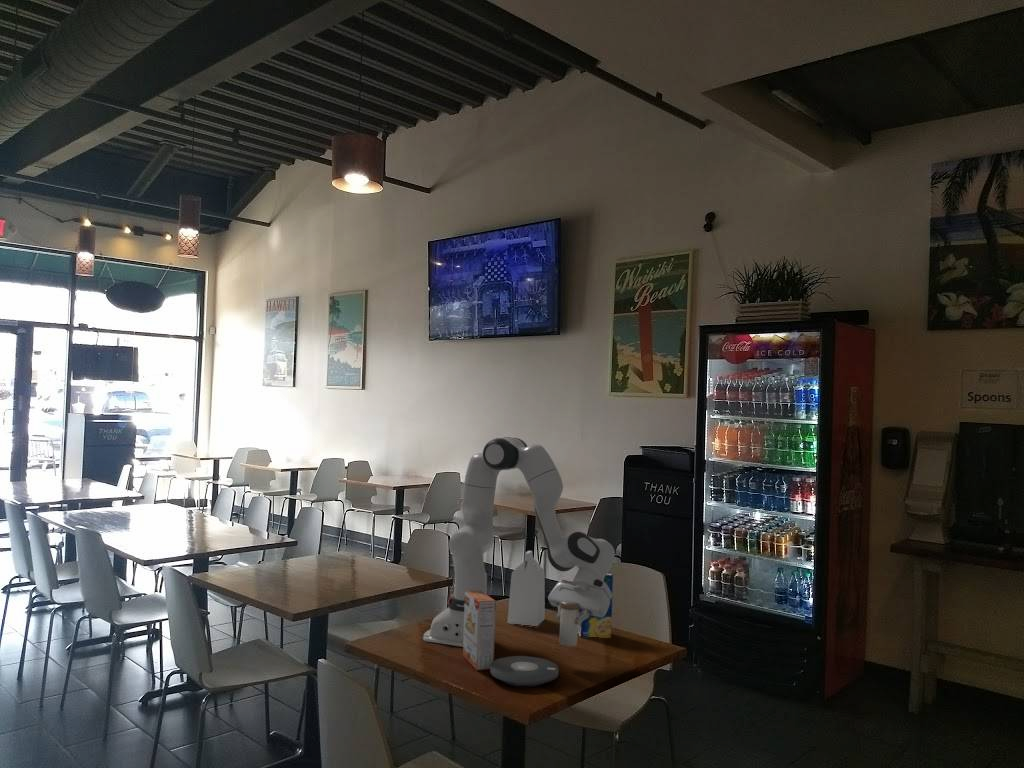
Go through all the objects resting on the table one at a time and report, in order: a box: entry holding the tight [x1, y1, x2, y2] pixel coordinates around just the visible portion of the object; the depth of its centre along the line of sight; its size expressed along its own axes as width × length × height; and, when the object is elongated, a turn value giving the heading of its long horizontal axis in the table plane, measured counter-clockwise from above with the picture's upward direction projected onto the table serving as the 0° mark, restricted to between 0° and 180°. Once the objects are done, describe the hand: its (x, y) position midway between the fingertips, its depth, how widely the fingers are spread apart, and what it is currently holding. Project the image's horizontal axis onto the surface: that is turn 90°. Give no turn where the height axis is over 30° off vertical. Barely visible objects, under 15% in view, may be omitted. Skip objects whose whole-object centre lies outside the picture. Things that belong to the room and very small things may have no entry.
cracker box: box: [462, 590, 497, 671], centre depth 235 cm, size 14×6×21 cm, turn 21°
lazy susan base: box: [502, 681, 545, 688], centre depth 222 cm, size 14×14×2 cm
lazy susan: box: [489, 655, 559, 684], centre depth 223 cm, size 20×20×2 cm
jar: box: [558, 601, 579, 647], centre depth 235 cm, size 6×6×12 cm
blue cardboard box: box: [577, 571, 614, 639], centre depth 271 cm, size 7×11×22 cm, turn 96°
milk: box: [506, 550, 546, 627], centre depth 286 cm, size 12×12×26 cm
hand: (568, 621), depth 235 cm, fingers closed on jar, 5 cm apart
